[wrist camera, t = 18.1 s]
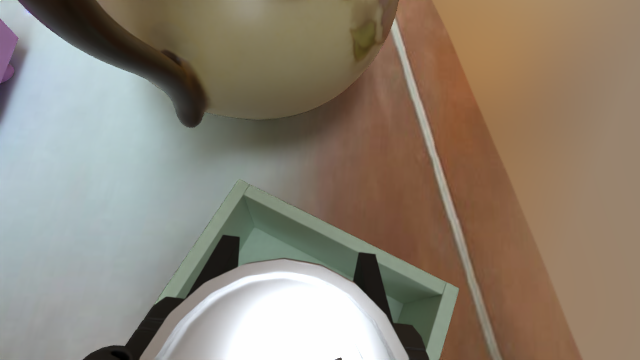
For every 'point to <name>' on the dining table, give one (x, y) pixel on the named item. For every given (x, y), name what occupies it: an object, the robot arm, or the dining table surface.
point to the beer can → (277, 318)
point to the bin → (318, 258)
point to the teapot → (6, 51)
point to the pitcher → (229, 48)
